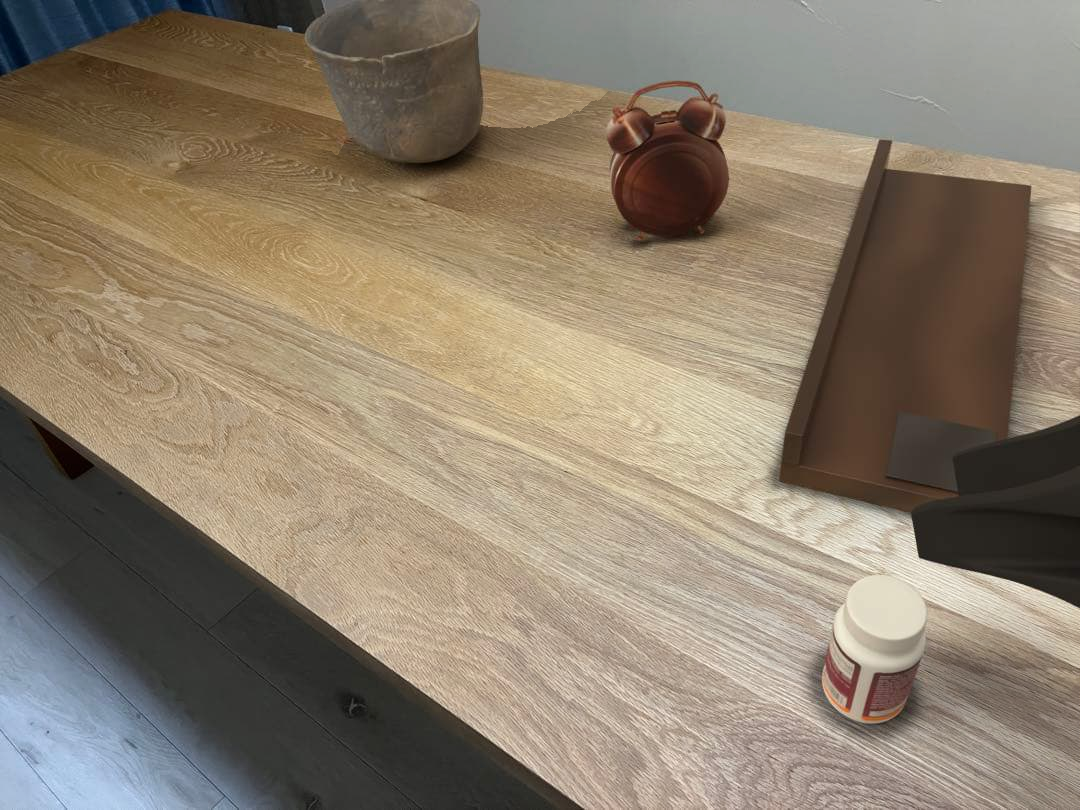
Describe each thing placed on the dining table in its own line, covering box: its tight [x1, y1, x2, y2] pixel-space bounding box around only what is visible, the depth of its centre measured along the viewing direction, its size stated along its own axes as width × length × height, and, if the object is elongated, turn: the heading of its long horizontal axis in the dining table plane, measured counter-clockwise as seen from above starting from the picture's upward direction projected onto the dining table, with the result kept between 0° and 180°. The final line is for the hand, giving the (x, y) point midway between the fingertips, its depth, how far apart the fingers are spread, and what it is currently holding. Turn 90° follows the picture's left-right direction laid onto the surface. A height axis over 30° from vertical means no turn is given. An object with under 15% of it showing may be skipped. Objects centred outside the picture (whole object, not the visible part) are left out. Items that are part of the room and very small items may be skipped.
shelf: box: [778, 138, 1033, 513], centre depth 74 cm, size 14×41×5 cm, turn 157°
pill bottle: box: [821, 574, 929, 725], centre depth 50 cm, size 5×5×8 cm
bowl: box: [304, 0, 484, 164], centre depth 99 cm, size 18×18×15 cm
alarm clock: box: [605, 80, 730, 242], centre depth 83 cm, size 11×5×15 cm, turn 94°
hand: (938, 501), depth 40 cm, fingers open, 7 cm apart
